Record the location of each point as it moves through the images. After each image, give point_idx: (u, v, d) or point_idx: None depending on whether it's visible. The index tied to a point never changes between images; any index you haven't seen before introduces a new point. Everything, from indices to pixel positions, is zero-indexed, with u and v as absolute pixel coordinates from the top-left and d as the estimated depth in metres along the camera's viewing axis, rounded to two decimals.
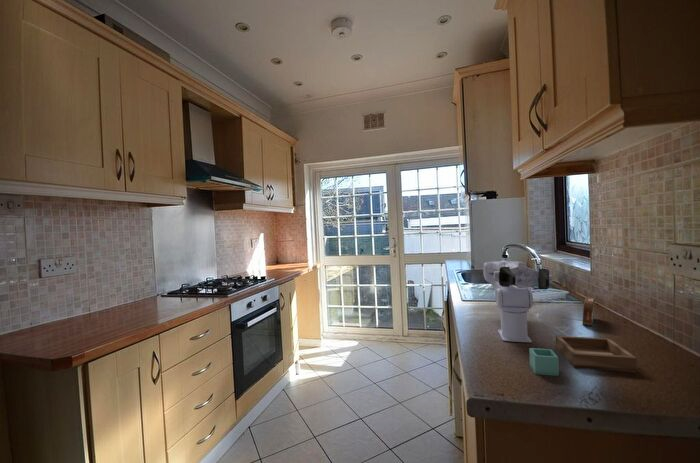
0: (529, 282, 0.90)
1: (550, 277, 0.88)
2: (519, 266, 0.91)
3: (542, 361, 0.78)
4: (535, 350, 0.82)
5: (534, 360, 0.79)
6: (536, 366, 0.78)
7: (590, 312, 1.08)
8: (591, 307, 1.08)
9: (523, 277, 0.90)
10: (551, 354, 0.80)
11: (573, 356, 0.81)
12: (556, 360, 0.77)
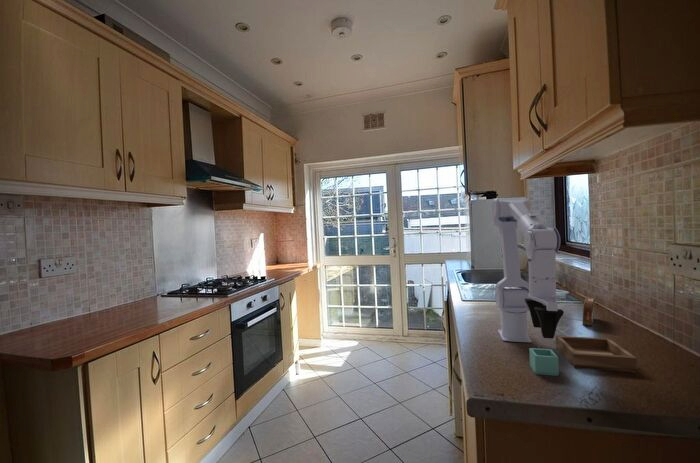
0: None
1: None
2: None
3: (542, 361, 0.78)
4: (535, 350, 0.82)
5: (534, 360, 0.79)
6: (536, 366, 0.78)
7: (590, 312, 1.08)
8: (591, 307, 1.08)
9: None
10: (551, 354, 0.80)
11: (573, 356, 0.81)
12: (556, 360, 0.77)
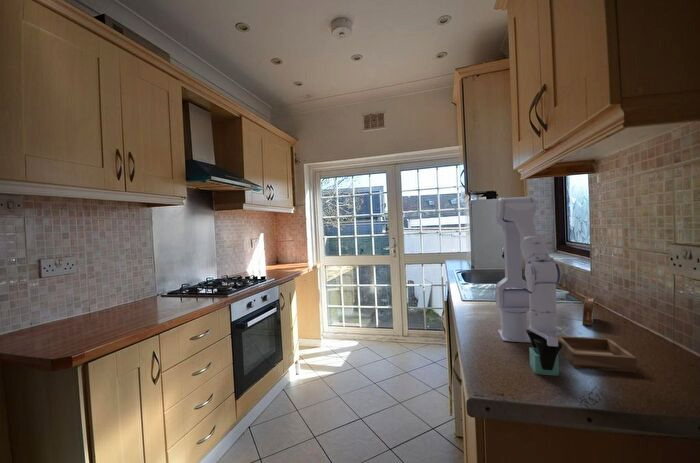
0: None
1: None
2: None
3: None
4: (535, 349, 0.82)
5: (534, 359, 0.79)
6: (536, 365, 0.78)
7: (590, 312, 1.08)
8: (591, 307, 1.08)
9: None
10: None
11: (573, 356, 0.81)
12: (556, 360, 0.77)
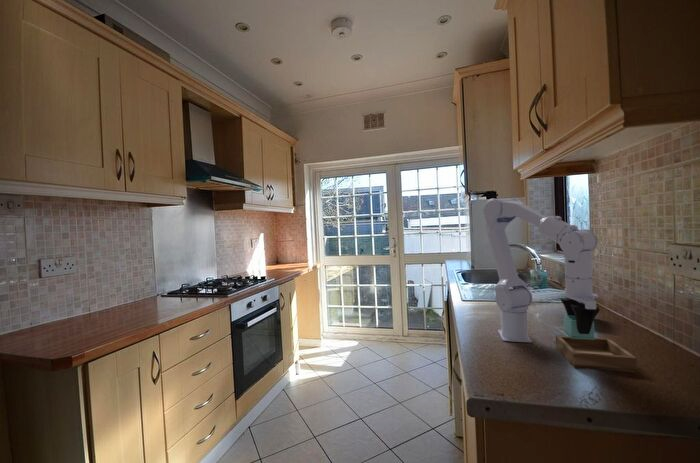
0: None
1: None
2: None
3: None
4: (570, 317, 0.86)
5: (570, 325, 0.82)
6: (572, 330, 0.82)
7: None
8: None
9: None
10: None
11: (573, 356, 0.81)
12: (592, 324, 0.80)
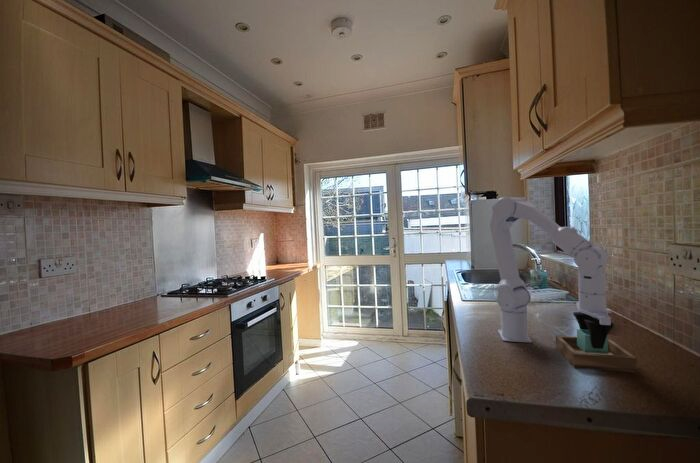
0: None
1: None
2: None
3: None
4: (583, 331, 0.87)
5: (584, 339, 0.84)
6: (586, 345, 0.83)
7: None
8: None
9: None
10: None
11: (573, 356, 0.81)
12: None
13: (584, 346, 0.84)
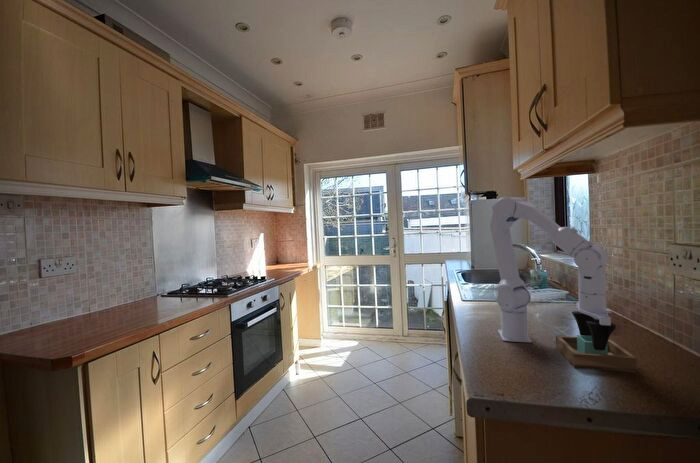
0: None
1: None
2: None
3: (591, 346, 0.83)
4: (583, 337, 0.87)
5: (583, 346, 0.84)
6: (585, 351, 0.83)
7: None
8: None
9: None
10: None
11: (573, 356, 0.81)
12: None
13: (584, 352, 0.84)
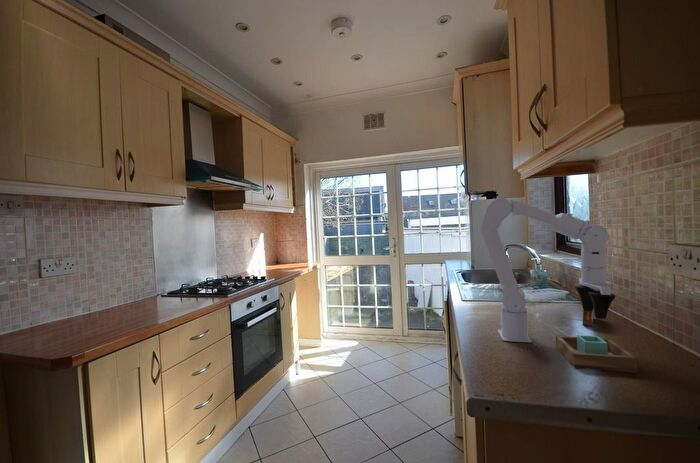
0: None
1: None
2: None
3: (591, 346, 0.83)
4: (583, 337, 0.87)
5: (583, 346, 0.84)
6: (585, 351, 0.83)
7: (590, 312, 1.08)
8: None
9: None
10: (599, 340, 0.85)
11: (573, 356, 0.81)
12: (605, 346, 0.82)
13: (584, 352, 0.84)
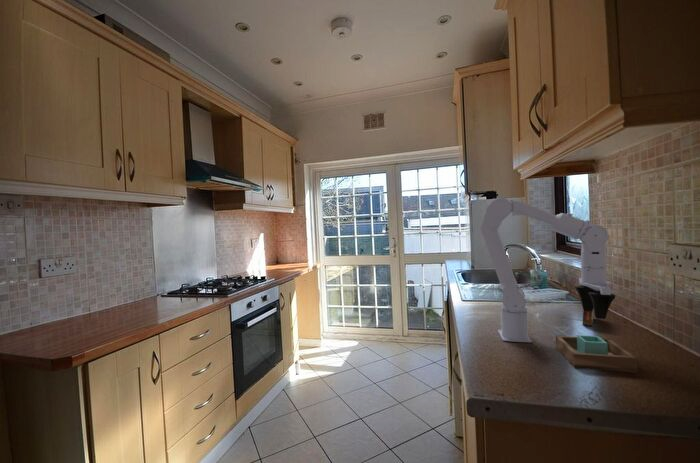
0: None
1: None
2: None
3: (591, 346, 0.83)
4: (583, 337, 0.87)
5: (583, 346, 0.84)
6: (585, 351, 0.83)
7: (590, 312, 1.08)
8: None
9: None
10: (599, 340, 0.85)
11: (573, 356, 0.81)
12: (605, 346, 0.82)
13: (584, 352, 0.84)
